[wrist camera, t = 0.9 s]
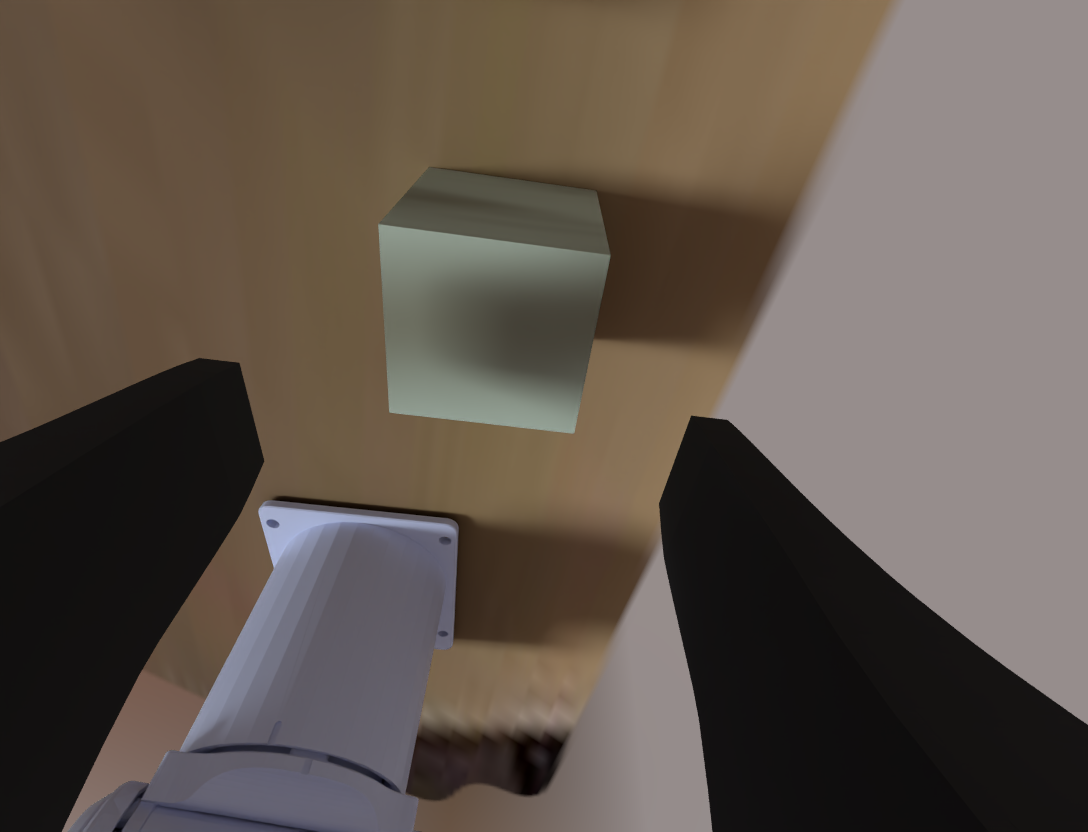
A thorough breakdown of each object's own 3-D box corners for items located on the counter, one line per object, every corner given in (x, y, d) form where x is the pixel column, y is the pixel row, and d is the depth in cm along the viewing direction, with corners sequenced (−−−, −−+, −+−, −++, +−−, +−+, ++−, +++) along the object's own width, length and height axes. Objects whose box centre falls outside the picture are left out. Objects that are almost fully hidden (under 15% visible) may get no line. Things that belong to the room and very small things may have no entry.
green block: (570, 336, 17) (574, 433, 13) (429, 319, 17) (389, 412, 13) (596, 189, 14) (610, 255, 10) (429, 166, 14) (378, 224, 10)
